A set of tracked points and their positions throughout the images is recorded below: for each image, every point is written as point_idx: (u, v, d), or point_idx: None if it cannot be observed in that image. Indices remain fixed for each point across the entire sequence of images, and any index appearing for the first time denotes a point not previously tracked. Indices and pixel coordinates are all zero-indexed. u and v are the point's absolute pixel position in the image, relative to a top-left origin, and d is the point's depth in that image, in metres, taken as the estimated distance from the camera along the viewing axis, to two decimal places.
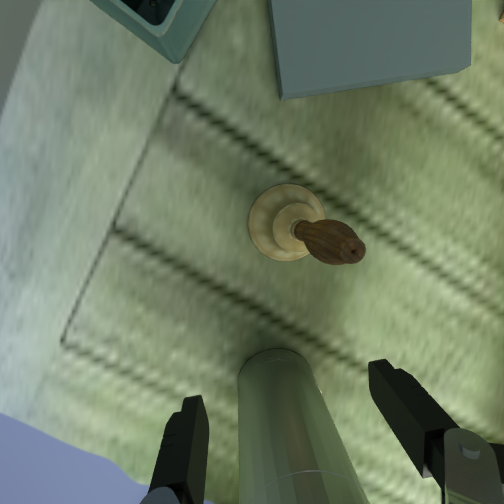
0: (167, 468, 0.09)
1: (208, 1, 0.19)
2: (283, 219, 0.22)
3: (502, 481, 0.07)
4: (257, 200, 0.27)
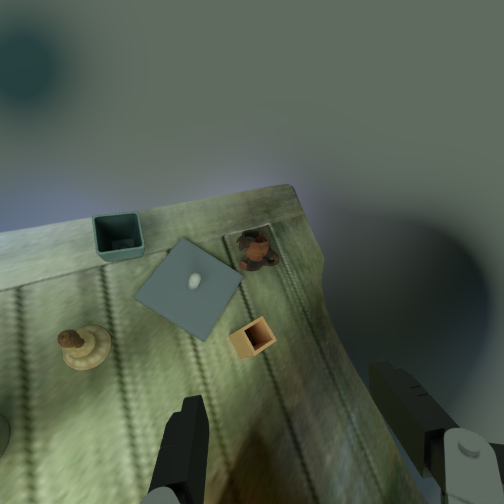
0: (167, 468, 0.09)
1: (128, 256, 0.56)
2: (79, 334, 0.47)
3: (502, 481, 0.07)
4: (86, 326, 0.52)
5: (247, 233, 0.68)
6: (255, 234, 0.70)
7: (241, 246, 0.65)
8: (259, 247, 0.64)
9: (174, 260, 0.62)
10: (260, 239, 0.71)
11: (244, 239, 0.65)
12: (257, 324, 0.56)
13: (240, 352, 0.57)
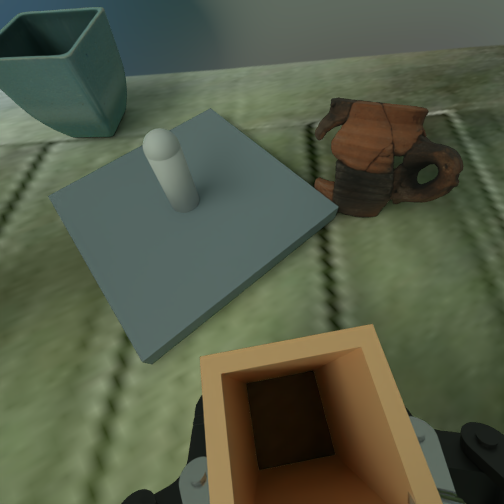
0: (202, 442, 0.10)
1: (65, 105, 0.24)
2: None
3: None
4: None
5: None
6: None
7: (323, 126, 0.21)
8: (386, 118, 0.18)
9: None
10: None
11: (335, 101, 0.20)
12: (340, 370, 0.11)
13: None
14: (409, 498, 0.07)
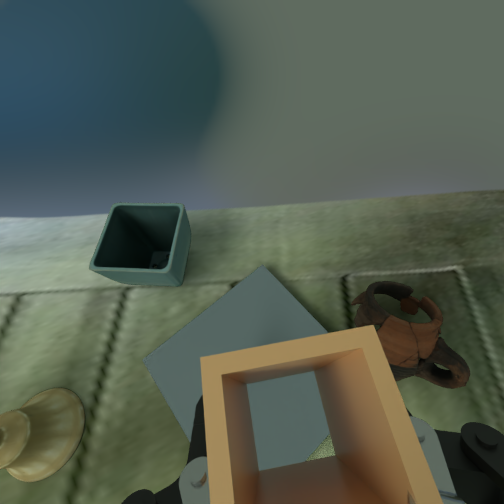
0: (202, 442, 0.10)
1: (153, 282, 0.30)
2: (7, 418, 0.24)
3: None
4: (60, 389, 0.30)
5: (381, 288, 0.29)
6: (400, 293, 0.30)
7: (361, 320, 0.27)
8: (412, 333, 0.24)
9: (235, 306, 0.32)
10: (413, 306, 0.30)
11: (371, 304, 0.26)
12: (340, 371, 0.11)
13: None
14: (409, 498, 0.07)
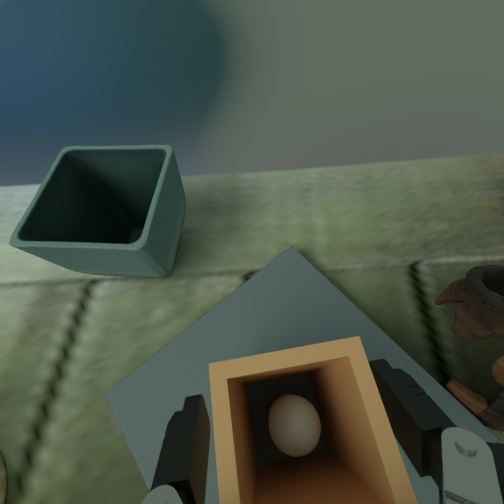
0: (169, 466, 0.09)
1: (123, 270, 0.19)
2: None
3: (499, 480, 0.07)
4: None
5: (485, 276, 0.18)
6: None
7: (470, 329, 0.16)
8: None
9: (252, 308, 0.21)
10: None
11: (490, 303, 0.15)
12: (332, 375, 0.12)
13: None
14: None
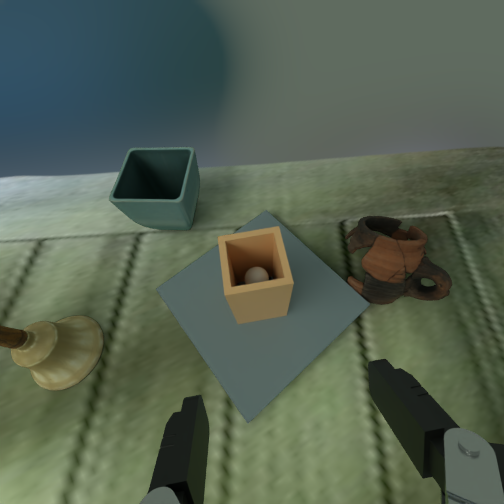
0: (167, 468, 0.09)
1: (165, 219, 0.33)
2: (37, 325, 0.27)
3: (502, 481, 0.07)
4: (80, 316, 0.32)
5: (372, 221, 0.32)
6: (390, 226, 0.32)
7: (354, 245, 0.30)
8: (399, 250, 0.27)
9: None
10: (402, 239, 0.33)
11: (362, 229, 0.29)
12: (274, 254, 0.26)
13: None
14: None
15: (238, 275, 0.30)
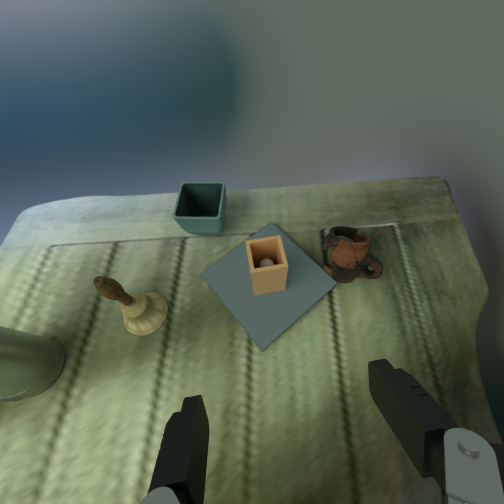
0: (167, 468, 0.09)
1: (206, 229, 0.51)
2: (134, 294, 0.44)
3: (502, 481, 0.07)
4: (151, 291, 0.50)
5: (339, 230, 0.50)
6: (351, 233, 0.50)
7: (326, 245, 0.47)
8: (352, 248, 0.45)
9: None
10: (359, 241, 0.51)
11: (331, 235, 0.47)
12: (277, 251, 0.44)
13: (252, 284, 0.46)
14: None
15: (254, 264, 0.48)
